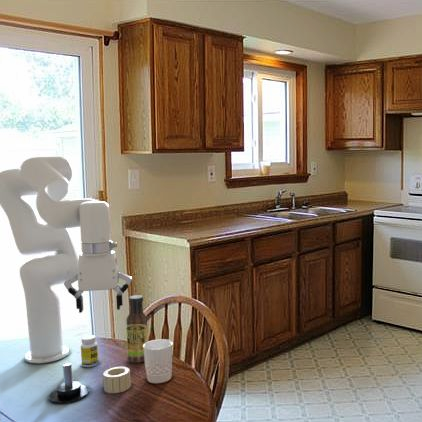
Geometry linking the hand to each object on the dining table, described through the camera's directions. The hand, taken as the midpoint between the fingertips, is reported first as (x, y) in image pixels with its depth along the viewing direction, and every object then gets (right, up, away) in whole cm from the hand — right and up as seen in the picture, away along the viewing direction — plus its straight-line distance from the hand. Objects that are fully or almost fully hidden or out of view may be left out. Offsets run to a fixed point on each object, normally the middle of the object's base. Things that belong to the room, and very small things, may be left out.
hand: (100, 309), depth 144 cm
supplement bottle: (-9, -20, +16) cm, 27 cm away
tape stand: (-7, -22, -4) cm, 23 cm away
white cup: (+15, -20, +5) cm, 26 cm away
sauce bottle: (+5, -19, +18) cm, 27 cm away
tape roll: (+5, -21, 0) cm, 22 cm away
